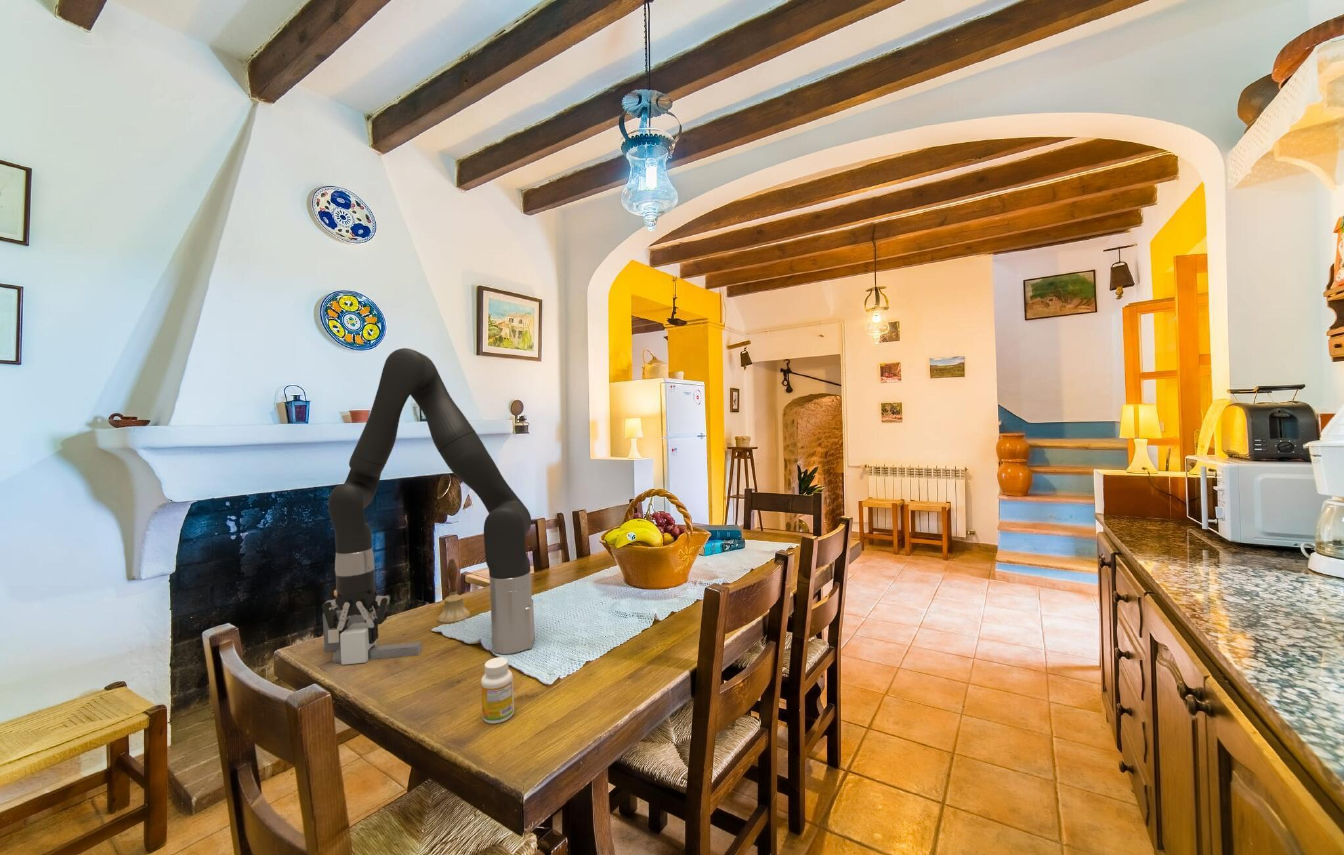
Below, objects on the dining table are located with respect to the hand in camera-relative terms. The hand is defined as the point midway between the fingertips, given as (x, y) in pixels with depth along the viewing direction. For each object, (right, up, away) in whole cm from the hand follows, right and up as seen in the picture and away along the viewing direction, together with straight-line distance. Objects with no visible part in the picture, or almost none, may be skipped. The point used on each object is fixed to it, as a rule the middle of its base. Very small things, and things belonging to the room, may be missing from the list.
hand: (359, 643), depth 117 cm
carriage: (0, -3, 0) cm, 3 cm away
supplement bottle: (+40, -3, -24) cm, 47 cm away
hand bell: (+12, -3, +23) cm, 26 cm away
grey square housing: (-8, -3, +8) cm, 12 cm away
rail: (+4, -3, +1) cm, 5 cm away
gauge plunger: (-8, +5, +8) cm, 12 cm away
